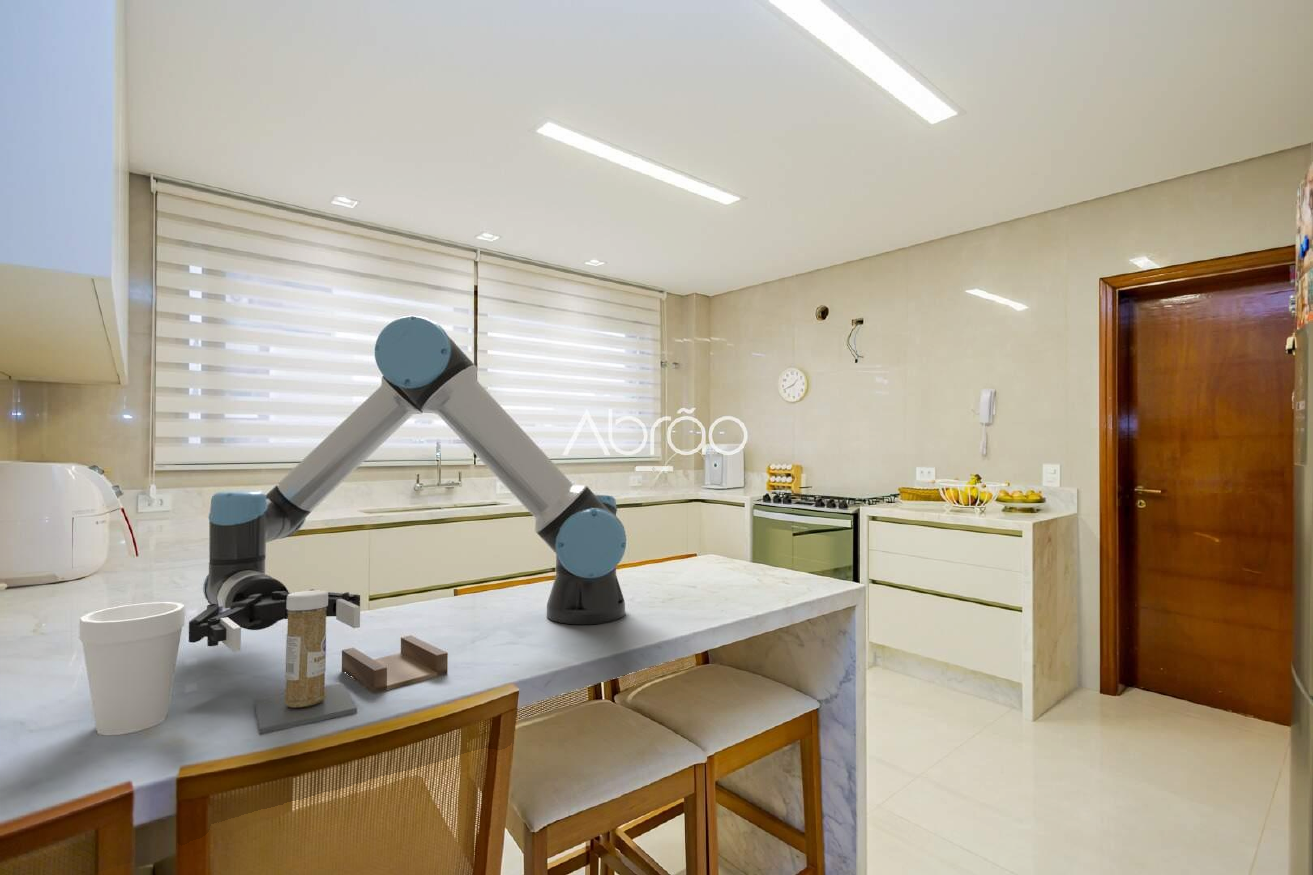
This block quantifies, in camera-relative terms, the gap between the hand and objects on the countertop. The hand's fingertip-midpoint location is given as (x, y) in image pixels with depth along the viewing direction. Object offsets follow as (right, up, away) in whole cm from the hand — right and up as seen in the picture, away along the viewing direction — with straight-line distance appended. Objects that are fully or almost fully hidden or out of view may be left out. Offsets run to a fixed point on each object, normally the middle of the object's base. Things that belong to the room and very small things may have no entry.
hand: (301, 627), depth 79 cm
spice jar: (+1, -9, -1) cm, 9 cm away
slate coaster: (+1, -10, -1) cm, 10 cm away
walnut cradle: (+7, -10, +12) cm, 17 cm away
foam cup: (-17, -10, -5) cm, 20 cm away
